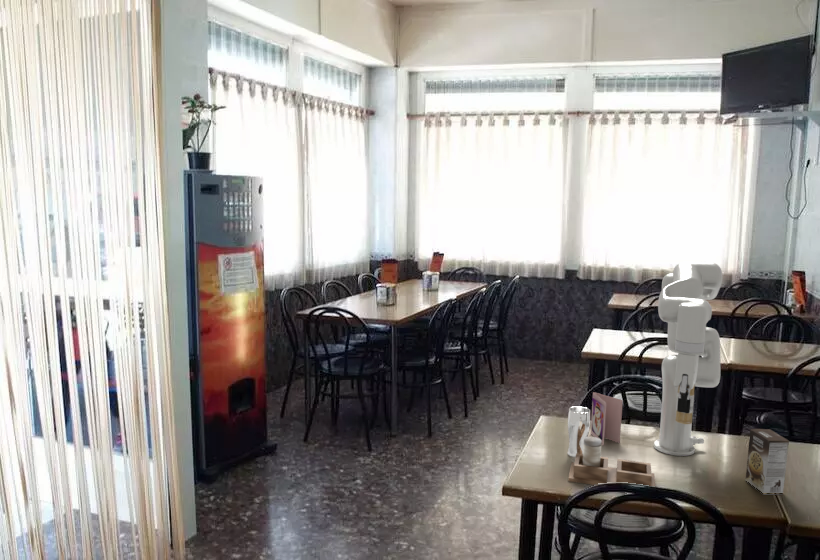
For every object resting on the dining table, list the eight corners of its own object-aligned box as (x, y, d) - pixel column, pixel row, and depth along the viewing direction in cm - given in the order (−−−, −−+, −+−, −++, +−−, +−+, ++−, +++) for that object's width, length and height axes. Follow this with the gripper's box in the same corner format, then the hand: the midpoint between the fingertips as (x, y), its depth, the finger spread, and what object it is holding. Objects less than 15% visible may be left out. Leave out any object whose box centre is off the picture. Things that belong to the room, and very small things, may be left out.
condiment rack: (654, 476, 200) (656, 440, 198) (655, 494, 188) (658, 456, 187) (571, 465, 207) (573, 430, 205) (568, 481, 195) (570, 444, 194)
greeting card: (588, 433, 234) (590, 391, 232) (608, 433, 234) (611, 391, 232) (600, 446, 222) (603, 402, 220) (622, 445, 223) (625, 402, 221)
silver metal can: (586, 450, 218) (589, 406, 216) (590, 459, 211) (592, 413, 209) (564, 449, 219) (567, 405, 217) (567, 458, 212) (570, 412, 210)
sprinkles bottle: (684, 418, 194) (687, 373, 192) (695, 423, 189) (699, 377, 188) (671, 420, 192) (674, 374, 190) (683, 425, 188) (686, 379, 186)
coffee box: (744, 480, 198) (749, 428, 196) (764, 480, 199) (770, 428, 196) (762, 495, 189) (768, 440, 187) (784, 494, 190) (790, 439, 187)
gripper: (679, 339, 197) (674, 399, 199) (670, 351, 182) (665, 416, 185) (707, 342, 193) (702, 403, 196) (700, 355, 179) (695, 421, 181)
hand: (684, 408), depth 190 cm, fingers closed on sprinkles bottle, 4 cm apart
